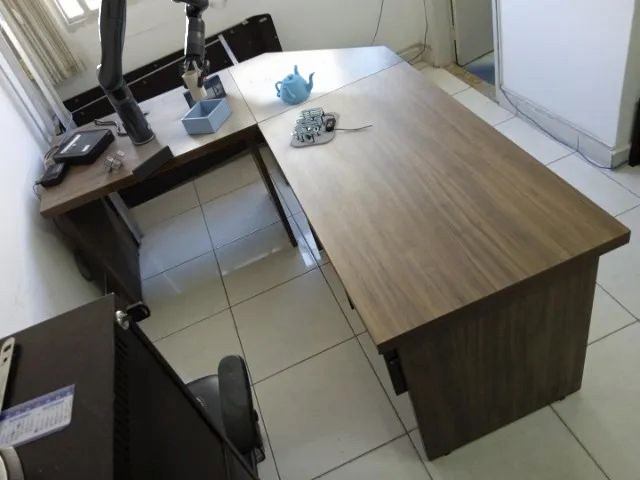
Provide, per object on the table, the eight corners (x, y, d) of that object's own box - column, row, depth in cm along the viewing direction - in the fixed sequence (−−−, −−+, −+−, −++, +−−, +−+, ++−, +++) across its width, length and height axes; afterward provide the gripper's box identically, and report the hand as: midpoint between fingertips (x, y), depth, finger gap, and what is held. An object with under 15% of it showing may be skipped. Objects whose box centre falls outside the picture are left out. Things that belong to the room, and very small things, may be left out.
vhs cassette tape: (194, 114, 212) (184, 94, 205) (191, 113, 214) (181, 93, 207) (227, 95, 218) (219, 75, 212) (224, 94, 220) (215, 73, 214)
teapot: (274, 101, 201) (266, 78, 194) (304, 85, 204) (297, 62, 198) (290, 110, 190) (282, 87, 183) (321, 94, 194) (315, 70, 187)
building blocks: (115, 174, 193) (120, 160, 188) (102, 168, 191) (107, 154, 186) (120, 167, 197) (125, 152, 192) (107, 161, 195) (111, 146, 190)
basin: (187, 134, 199) (180, 119, 194) (205, 114, 209) (199, 100, 204) (214, 132, 193) (207, 117, 189) (231, 112, 203) (225, 98, 199)
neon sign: (369, 126, 157) (286, 138, 166) (371, 137, 160) (290, 148, 168) (374, 95, 172) (297, 108, 180) (376, 106, 175) (300, 118, 183)
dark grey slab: (172, 155, 188) (166, 145, 185) (174, 156, 187) (168, 145, 184) (138, 181, 179) (131, 170, 176) (139, 182, 179) (133, 171, 175)
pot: (190, 101, 192) (179, 77, 185) (197, 93, 196) (187, 70, 189) (202, 100, 189) (191, 76, 183) (209, 92, 193) (199, 69, 187)
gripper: (174, 44, 188) (172, 86, 188) (203, 39, 182) (201, 83, 182) (186, 51, 195) (184, 92, 195) (215, 47, 189) (213, 89, 189)
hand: (193, 87), depth 188 cm, fingers closed on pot, 6 cm apart
